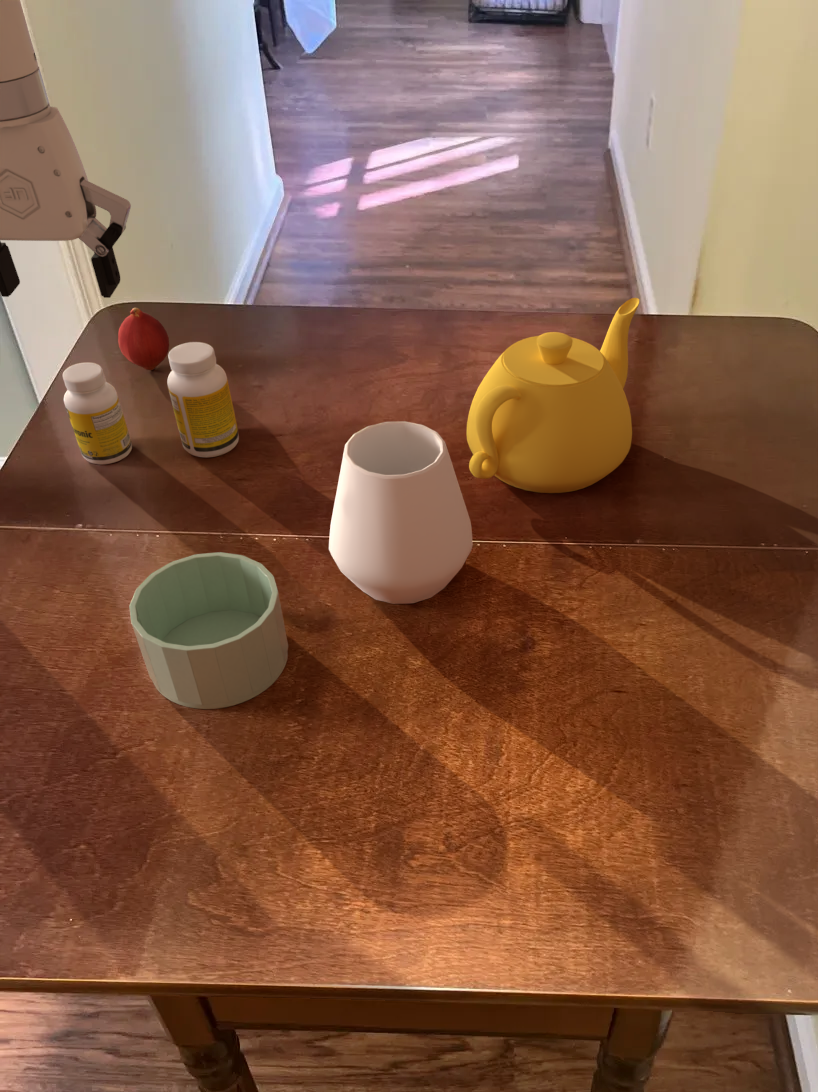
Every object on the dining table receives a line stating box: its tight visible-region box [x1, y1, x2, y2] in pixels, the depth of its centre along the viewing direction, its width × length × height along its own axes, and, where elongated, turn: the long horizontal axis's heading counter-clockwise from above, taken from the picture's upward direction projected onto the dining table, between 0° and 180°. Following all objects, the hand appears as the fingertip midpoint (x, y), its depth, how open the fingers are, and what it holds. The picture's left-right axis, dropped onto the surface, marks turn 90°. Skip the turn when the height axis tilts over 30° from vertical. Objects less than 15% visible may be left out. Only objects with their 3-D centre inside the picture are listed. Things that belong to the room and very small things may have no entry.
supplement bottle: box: [62, 361, 133, 465], centre depth 104 cm, size 5×5×10 cm
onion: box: [117, 307, 170, 371], centre depth 118 cm, size 6×6×8 cm
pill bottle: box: [166, 341, 240, 459], centre depth 105 cm, size 6×6×11 cm
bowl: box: [128, 551, 289, 710], centre depth 83 cm, size 12×12×7 cm
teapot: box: [465, 297, 640, 494], centre depth 103 cm, size 25×18×14 cm
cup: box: [328, 420, 474, 605], centre depth 89 cm, size 13×13×14 cm
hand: (61, 290), depth 95 cm, fingers open, 9 cm apart
